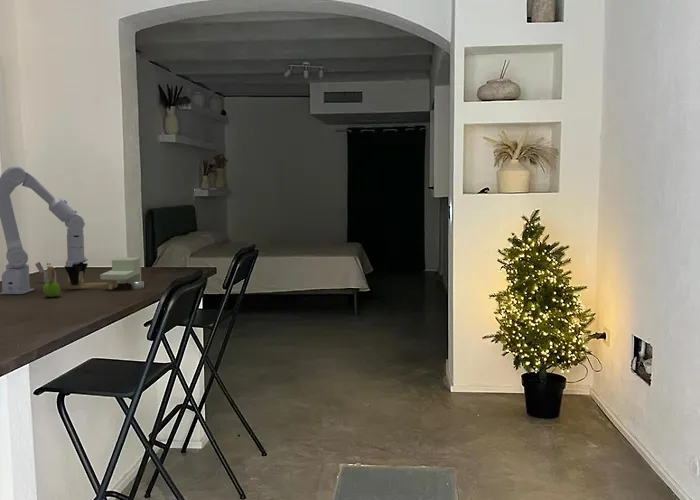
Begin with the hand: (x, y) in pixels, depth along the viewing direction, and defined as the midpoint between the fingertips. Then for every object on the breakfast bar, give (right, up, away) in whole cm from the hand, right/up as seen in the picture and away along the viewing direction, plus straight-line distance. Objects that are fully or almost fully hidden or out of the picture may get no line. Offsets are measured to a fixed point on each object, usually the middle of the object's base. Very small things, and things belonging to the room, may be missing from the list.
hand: (76, 283), depth 235 cm
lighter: (-18, 0, +13) cm, 22 cm away
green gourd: (0, -4, -20) cm, 20 cm away
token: (+22, -2, +1) cm, 22 cm away
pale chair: (+15, -1, +4) cm, 16 cm away
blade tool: (+6, -2, 0) cm, 6 cm away
